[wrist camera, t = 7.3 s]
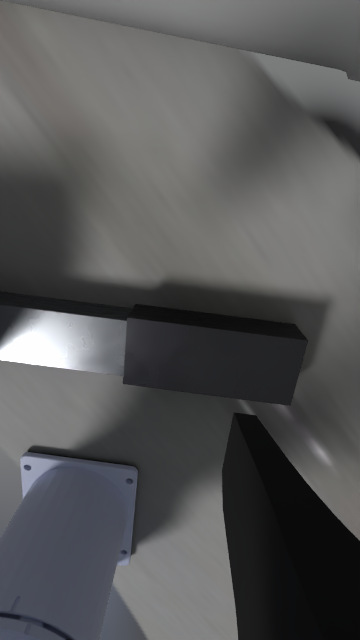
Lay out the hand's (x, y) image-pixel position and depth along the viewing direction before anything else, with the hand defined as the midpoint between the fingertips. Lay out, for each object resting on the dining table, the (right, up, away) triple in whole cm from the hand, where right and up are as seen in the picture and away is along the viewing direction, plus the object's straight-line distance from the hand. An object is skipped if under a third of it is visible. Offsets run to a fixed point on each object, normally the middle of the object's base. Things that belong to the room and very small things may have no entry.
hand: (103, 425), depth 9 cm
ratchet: (-3, +2, +10) cm, 11 cm away
